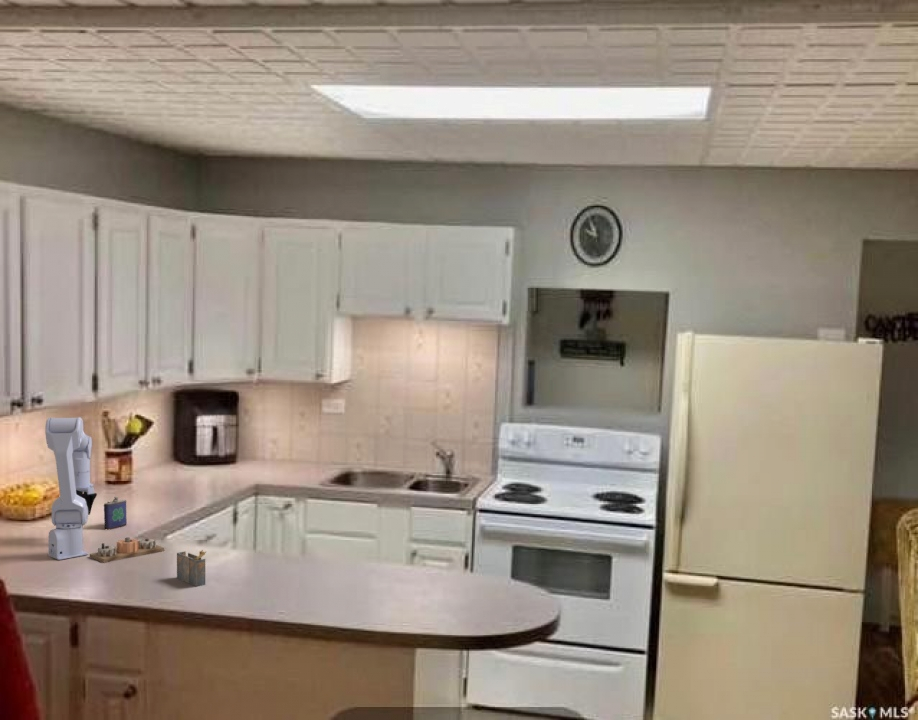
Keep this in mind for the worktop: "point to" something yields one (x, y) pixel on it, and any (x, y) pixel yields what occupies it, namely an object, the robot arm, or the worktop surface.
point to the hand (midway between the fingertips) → (81, 513)
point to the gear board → (111, 553)
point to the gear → (127, 546)
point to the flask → (115, 514)
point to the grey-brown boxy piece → (191, 568)
